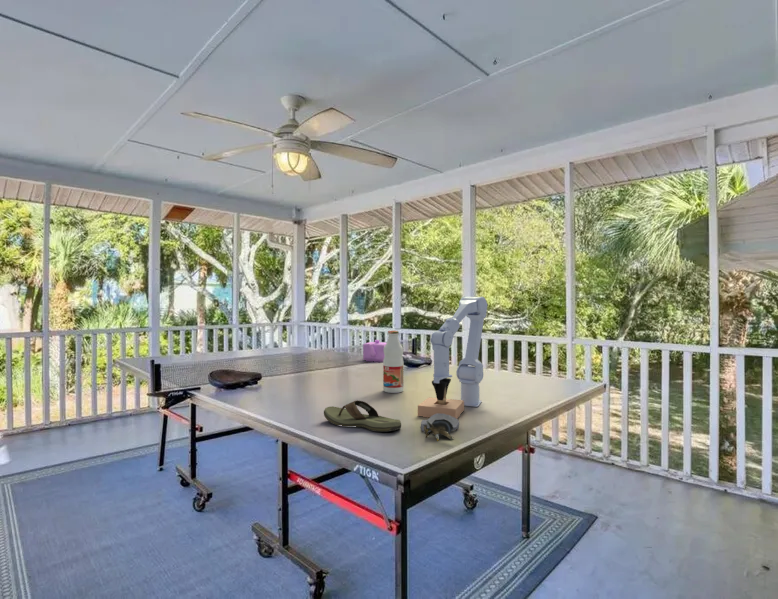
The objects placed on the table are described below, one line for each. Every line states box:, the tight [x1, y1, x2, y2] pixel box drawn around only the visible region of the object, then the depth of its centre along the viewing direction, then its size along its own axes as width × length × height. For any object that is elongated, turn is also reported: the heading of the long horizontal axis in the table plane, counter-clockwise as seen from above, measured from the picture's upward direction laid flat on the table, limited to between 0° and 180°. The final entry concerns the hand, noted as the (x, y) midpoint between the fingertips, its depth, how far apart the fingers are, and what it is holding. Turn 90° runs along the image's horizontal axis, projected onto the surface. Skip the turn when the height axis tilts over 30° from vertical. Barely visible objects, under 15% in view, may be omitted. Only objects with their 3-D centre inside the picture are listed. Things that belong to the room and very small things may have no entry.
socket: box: [417, 396, 465, 419], centre depth 165 cm, size 14×14×4 cm
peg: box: [437, 387, 447, 405], centre depth 165 cm, size 3×3×7 cm
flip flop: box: [323, 399, 402, 433], centre depth 150 cm, size 29×12×8 cm, turn 58°
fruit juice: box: [382, 330, 405, 394], centre depth 203 cm, size 9×9×28 cm
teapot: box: [362, 339, 387, 363], centre depth 298 cm, size 15×25×14 cm, turn 159°
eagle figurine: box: [424, 419, 454, 442], centre depth 136 cm, size 8×7×9 cm
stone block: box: [420, 413, 460, 436], centre depth 146 cm, size 12×5×10 cm
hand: (441, 398), depth 165 cm, fingers closed on peg, 3 cm apart
